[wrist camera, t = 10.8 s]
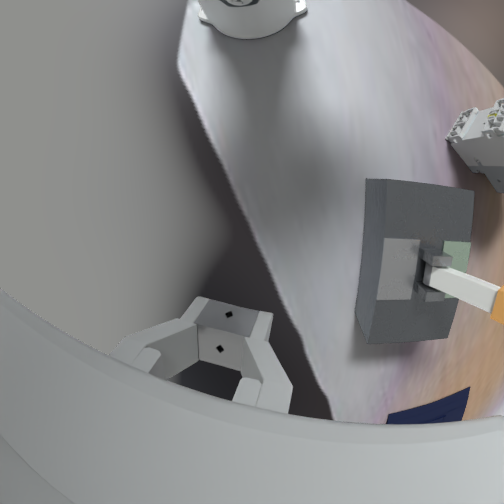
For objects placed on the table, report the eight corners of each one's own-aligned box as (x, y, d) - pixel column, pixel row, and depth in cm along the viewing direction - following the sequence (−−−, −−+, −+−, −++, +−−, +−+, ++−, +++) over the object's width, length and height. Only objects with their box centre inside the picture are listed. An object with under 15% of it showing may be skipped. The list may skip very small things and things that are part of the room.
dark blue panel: (376, 470, 54) (377, 479, 51) (385, 407, 51) (388, 417, 47) (445, 449, 49) (448, 456, 46) (466, 380, 46) (472, 387, 43)
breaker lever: (422, 260, 28) (515, 297, 16) (432, 257, 29) (520, 290, 17) (417, 285, 29) (506, 325, 17) (428, 281, 30) (512, 318, 18)
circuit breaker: (489, 196, 34) (542, 208, 19) (445, 138, 33) (498, 128, 19) (503, 169, 31) (555, 173, 17) (461, 111, 31) (512, 95, 17)
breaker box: (365, 178, 37) (397, 179, 24) (441, 186, 35) (489, 193, 22) (354, 311, 43) (372, 359, 30) (424, 309, 41) (456, 350, 28)
